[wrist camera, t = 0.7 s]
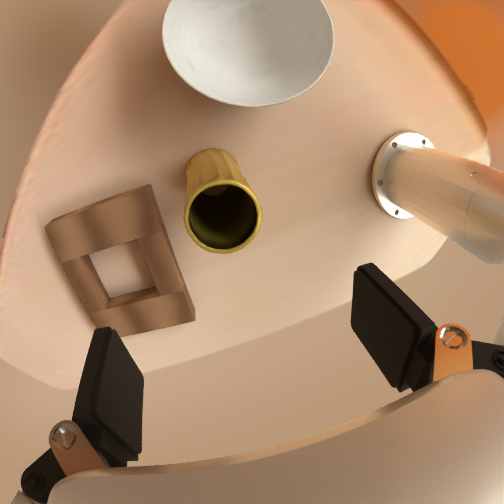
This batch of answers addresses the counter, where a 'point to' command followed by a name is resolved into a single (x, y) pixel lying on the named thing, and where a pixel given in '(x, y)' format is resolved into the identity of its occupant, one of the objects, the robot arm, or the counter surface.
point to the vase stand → (114, 233)
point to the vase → (219, 203)
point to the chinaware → (248, 47)
